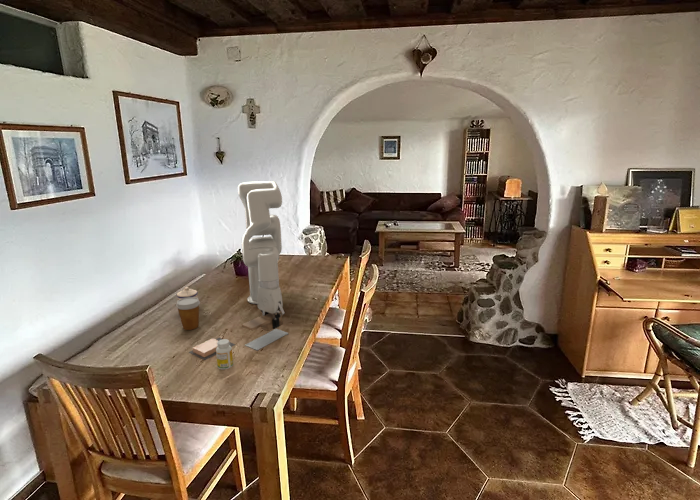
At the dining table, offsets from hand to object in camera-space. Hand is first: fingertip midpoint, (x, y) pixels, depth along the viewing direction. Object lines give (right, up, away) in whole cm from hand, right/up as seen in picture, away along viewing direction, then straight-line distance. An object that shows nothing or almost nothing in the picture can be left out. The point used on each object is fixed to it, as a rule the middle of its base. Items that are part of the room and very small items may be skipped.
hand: (272, 325), depth 165 cm
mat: (-21, -8, -7) cm, 24 cm away
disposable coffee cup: (-37, -3, +12) cm, 39 cm away
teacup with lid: (-44, +2, +29) cm, 52 cm away
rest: (-2, -6, -1) cm, 6 cm away
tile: (-20, -6, -6) cm, 21 cm away
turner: (-2, -1, -3) cm, 4 cm away
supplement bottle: (-13, -11, -19) cm, 25 cm away
